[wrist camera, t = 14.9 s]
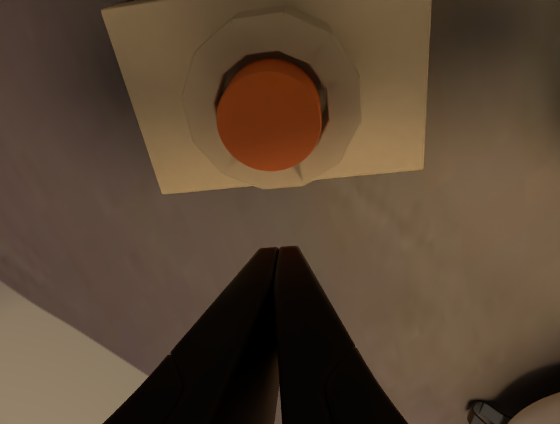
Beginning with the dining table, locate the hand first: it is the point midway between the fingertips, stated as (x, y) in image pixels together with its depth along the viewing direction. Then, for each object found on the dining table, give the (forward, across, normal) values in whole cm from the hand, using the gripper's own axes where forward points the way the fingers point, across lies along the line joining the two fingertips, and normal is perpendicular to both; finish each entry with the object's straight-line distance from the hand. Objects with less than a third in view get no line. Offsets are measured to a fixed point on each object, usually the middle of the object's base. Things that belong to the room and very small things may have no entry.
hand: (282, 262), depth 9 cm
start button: (+8, +1, -1) cm, 8 cm away
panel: (+12, +1, -1) cm, 12 cm away
